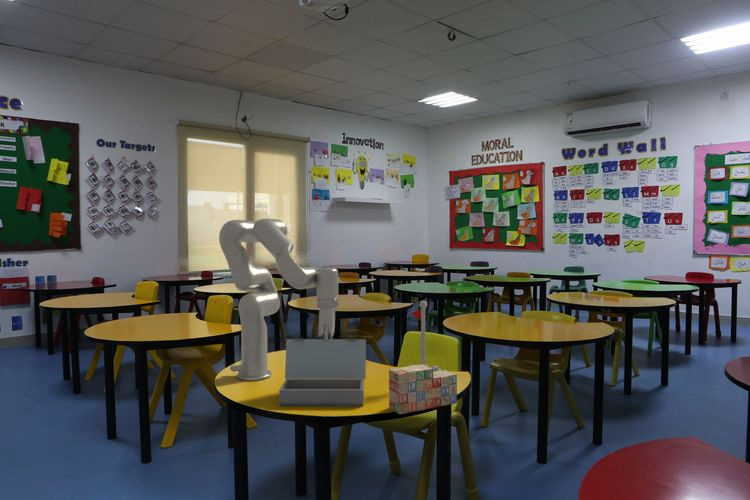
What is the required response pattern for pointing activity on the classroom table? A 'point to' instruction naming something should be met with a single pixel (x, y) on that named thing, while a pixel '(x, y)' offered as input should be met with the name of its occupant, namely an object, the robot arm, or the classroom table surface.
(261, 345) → the robot arm
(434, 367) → the flag stand
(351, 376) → the grey flat panel
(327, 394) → the grey open box
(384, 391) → the classroom table surface
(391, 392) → the stack of blocks
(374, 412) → the classroom table surface
